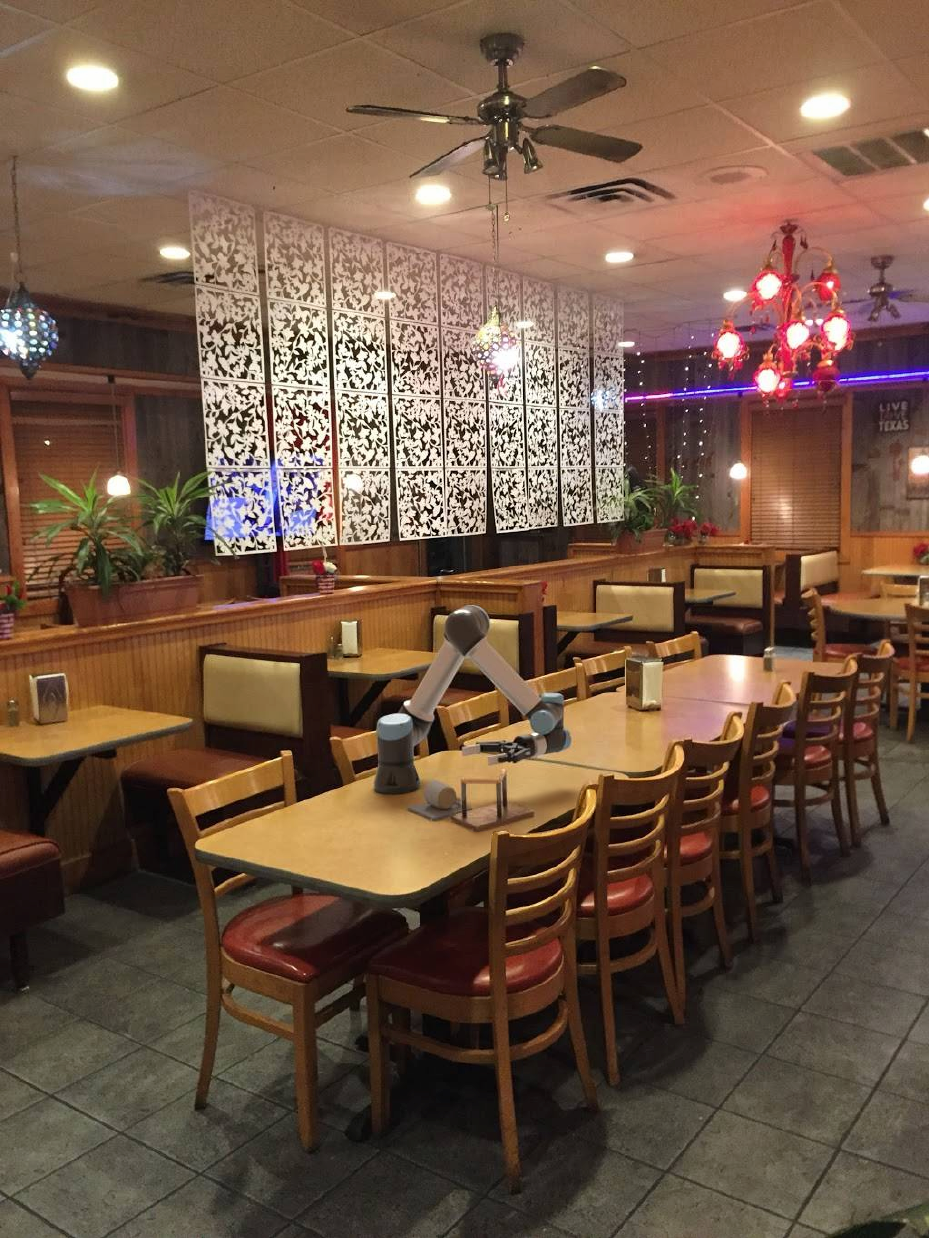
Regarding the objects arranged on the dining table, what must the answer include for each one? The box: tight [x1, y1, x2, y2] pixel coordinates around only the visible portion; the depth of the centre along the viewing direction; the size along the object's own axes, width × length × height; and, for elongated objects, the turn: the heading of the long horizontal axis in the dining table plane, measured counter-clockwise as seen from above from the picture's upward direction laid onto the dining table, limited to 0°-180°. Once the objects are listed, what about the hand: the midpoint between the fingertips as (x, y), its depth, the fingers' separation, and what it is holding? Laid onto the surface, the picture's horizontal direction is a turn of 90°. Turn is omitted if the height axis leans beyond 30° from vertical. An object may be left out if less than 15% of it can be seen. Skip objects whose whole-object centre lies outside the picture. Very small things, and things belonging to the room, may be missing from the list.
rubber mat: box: [407, 801, 473, 821], centre depth 301 cm, size 14×14×1 cm
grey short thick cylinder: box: [423, 779, 462, 810], centre depth 302 cm, size 11×8×8 cm
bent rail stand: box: [449, 768, 535, 832], centre depth 291 cm, size 13×21×13 cm, turn 126°
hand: (475, 756), depth 306 cm, fingers open, 13 cm apart
